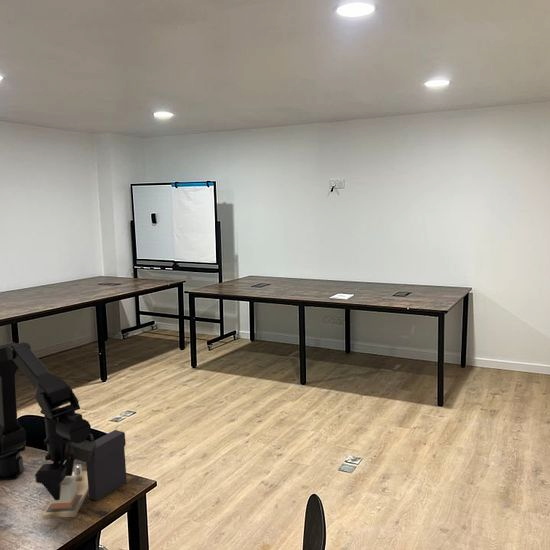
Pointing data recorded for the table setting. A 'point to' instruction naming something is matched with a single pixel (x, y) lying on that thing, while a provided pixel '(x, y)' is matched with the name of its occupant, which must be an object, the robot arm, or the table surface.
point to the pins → (78, 472)
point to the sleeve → (66, 494)
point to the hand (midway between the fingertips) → (63, 489)
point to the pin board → (72, 512)
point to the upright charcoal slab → (107, 465)
